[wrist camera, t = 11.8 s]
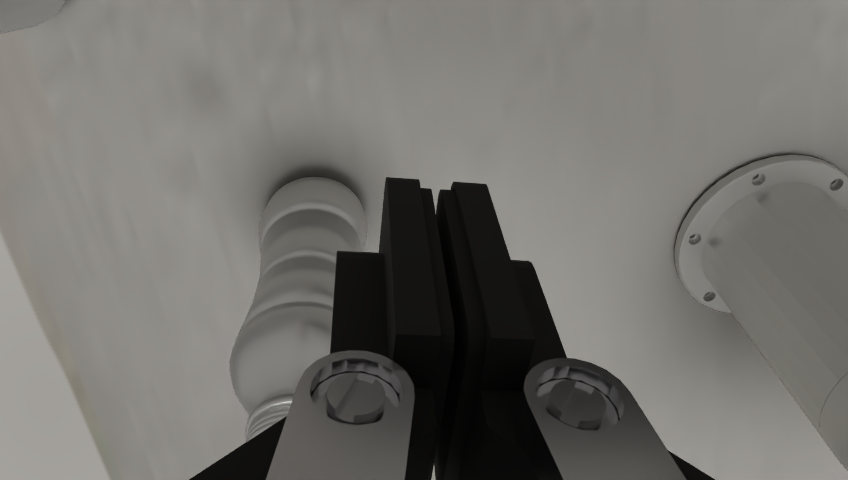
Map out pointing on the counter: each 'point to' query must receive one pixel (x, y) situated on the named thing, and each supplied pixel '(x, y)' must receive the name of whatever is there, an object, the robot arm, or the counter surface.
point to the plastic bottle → (293, 294)
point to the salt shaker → (26, 13)
